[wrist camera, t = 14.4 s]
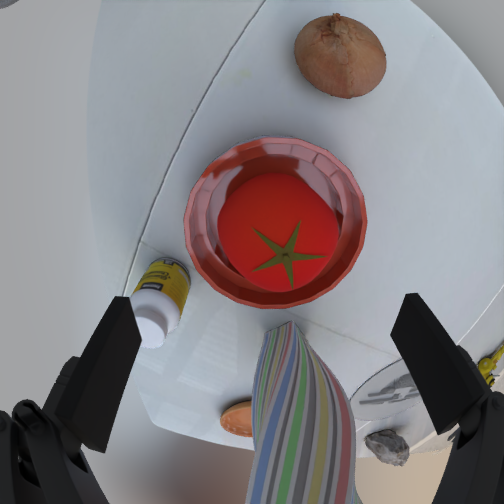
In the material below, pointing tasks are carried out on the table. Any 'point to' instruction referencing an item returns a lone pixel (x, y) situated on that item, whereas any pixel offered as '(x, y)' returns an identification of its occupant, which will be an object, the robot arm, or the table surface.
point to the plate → (385, 394)
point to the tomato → (277, 232)
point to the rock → (388, 447)
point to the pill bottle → (160, 300)
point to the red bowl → (257, 163)
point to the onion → (340, 56)
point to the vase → (300, 427)
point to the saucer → (238, 419)
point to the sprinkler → (490, 366)
